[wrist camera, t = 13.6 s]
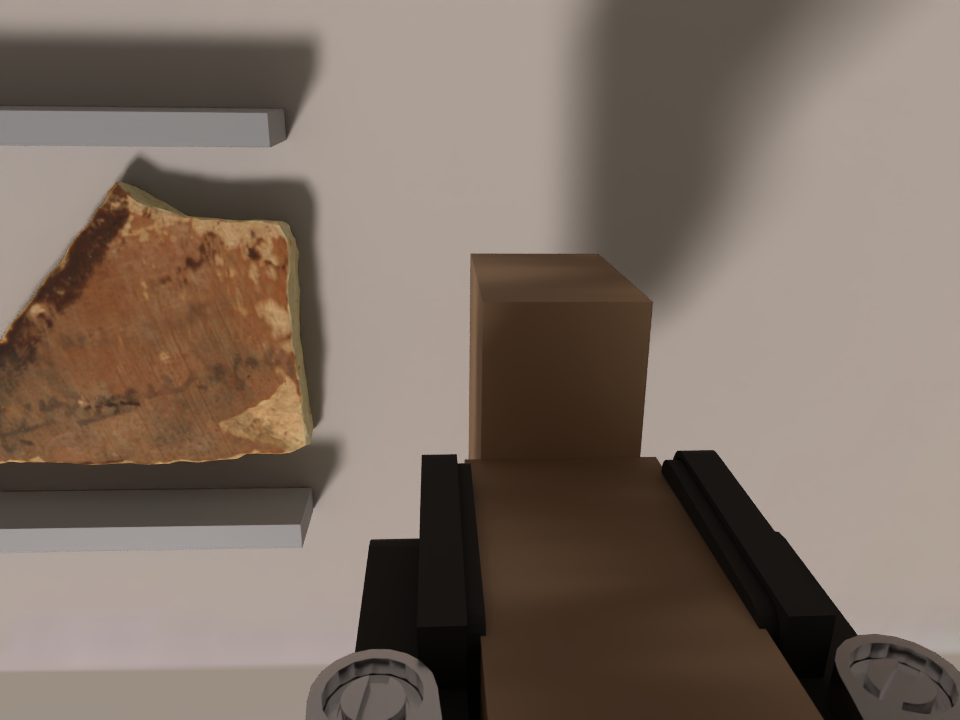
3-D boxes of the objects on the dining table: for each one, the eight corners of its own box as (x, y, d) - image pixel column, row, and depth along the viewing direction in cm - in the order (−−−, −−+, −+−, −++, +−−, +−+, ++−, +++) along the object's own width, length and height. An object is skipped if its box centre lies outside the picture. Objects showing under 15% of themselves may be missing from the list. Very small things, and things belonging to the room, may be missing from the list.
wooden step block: (610, 253, 15) (996, 567, 5) (588, 604, 18) (811, 1314, 7) (457, 253, 15) (511, 578, 5) (456, 607, 18) (489, 1341, 7)
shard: (-55, 445, 23) (-95, 475, 21) (-126, 178, 20) (-178, 188, 18) (319, 438, 23) (309, 467, 21) (297, 175, 21) (284, 185, 19)
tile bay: (283, 108, 19) (267, 113, 18) (313, 509, 23) (302, 548, 22) (-283, 103, 19) (-363, 107, 17) (-152, 516, 23) (-206, 556, 21)
